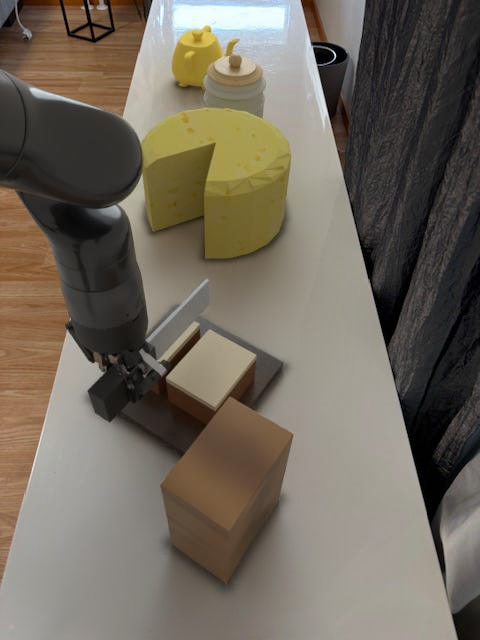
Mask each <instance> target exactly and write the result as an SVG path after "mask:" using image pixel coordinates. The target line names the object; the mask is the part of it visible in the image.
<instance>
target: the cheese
mask: <svg viewBox="0 0 480 640" xmlns="http://www.w3.org/2000/svg"><path fill="white" fill-rule="evenodd" d="M141 145H142V150H143V158H144V162H143V171H142V175H141V177H142V184H143V192H144V199H145V207H146V209H145V210H146V214H147V215H146V216H147V220H148V222H149V226H150V228H151V231H152V232H153V233H154V232H158V231H161V230H164V229H166V228H170V227H173V226H176V225H179V224H181V223H182V224H183V223H185V222H187V221H190V220H193V219H197V218H199V217H202V216H203V217H204V256H205V257H204V258H205V259H232V258H236V257H241V256H244V255H248V254H252V253H254V252H256V251H257V250H260V249H261V248H262V247H264V246H267V245H268V244H269V243H270V242H271V241H272V240H273V239H274V238H275V237H276V235H278V233H279V232H280V230H281V227H282V224H283V221H284V219H285V211H286V203H287V196H288V195H287V194H288V188H289V179H290V172H291V164H292V152H291V145H290V142H289V140H288V139H287V138H286V136H285V135H284V134H283V131H282V130H281V129H279V128H278V127H276V126H275V125H273V124H272V123H271V122H269V120H267V119H265V117H263V118H260V117H257V116H255V115H253V114H250V113H248V112H246V111H238V110H233V109H229V108H225V109H218V108H204V107H201V108H198V109H190V110H183V111H181V112H178V113H176V114H173V115H170V116H167V117H166V118H164V119H163V120H161V121H160V122H159V123H156V125H154V126H152V127H151V128H150V129H149V131H148V132H147V133H146V134H145V136H144V137H143V139H142V140H141Z"/></svg>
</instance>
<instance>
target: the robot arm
mask: <svg viewBox="0 0 480 640" xmlns="http://www.w3.org/2000/svg"><path fill="white" fill-rule="evenodd" d="M141 143H142V141H141V140H140V137H139V136H138V134H137V132H136V130H135V129H134V127H133V126H132V125H131V124H130V123H129V121H127V120H126V119H125V118H124V117H123V116H122V115H121V116H120V115H119V114H117V113H115V112H114V111H113V112H112V111H110V110H107V109H104V108H101V107H98V106H95V105H93V104H89V103H86V102H83V101H80V100H76V99H73V98H70V97H67V96H64V95H61V94H57V93H54V92H50V91H47V90H45V89H42V88H40V87H37V86H35V85H33V84H32V83H29V82H27V81H26V80H23V79H21V78H20V77H17V76H16V75H13V74H11V73H10V72H8V71H6V70H4V69H2V68H0V188H1V189H6V190H7V189H8V190H13V191H14V192H15V194H16V196H17V197H18V199H19V200H20V201H21V203H22V205H23V206H24V207H25V209H26V211H27V212H28V214H29V215H30V217H31V218H32V220H33V221H34V223H35V225H36V226H37V227H38V229H40V230H41V232H42V233H43V234H44V236H45V237H46V240H48V242H49V246H50V248H51V253H52V256H53V259H54V262H55V265H56V269H57V272H58V276H59V282H60V289H61V293H62V297H63V301H64V304H65V306H66V310H67V312H68V316H69V319H70V320H69V321H67V323H66V324H64V327H65V329H66V330H67V332H68V333H69V335H70V336H71V338H72V339H73V340H74V342H75V343H76V345H77V346H78V348H79V349H80V351H81V352H82V353H83V355H84V356H85V358H86V359H87V361H88V362H89V363H91V364H95V363H97V364H98V369H99V370H100V372H101V373H103V374H104V373H105V372H106V371H107V370H108V369H109V368H110V367H111V366H112V365H113V364H114V367H115V370H116V372H117V375H118V376H119V377H121V378H122V379H123V380H124V383H125V387H126V392H127V396H128V400H129V401H130V402H131V403H133V404H134V403H136V401H137V402H139V401H140V399H141V398H142V397H143V396H144V395H145V394H146V393H147V392H148V391H149V390H150V389H151V388H152V387H153V386H154V385H155V384H157V382H158V381H159V380H160V379H161V378H162V377H163V376H164V375H165V374H166V372H167V371H168V370H169V369H170V368H171V365H170V363H169V362H168V361H166V360H162V361H161V362H160V361H159V360H155V359H154V358H153V357H152V356H151V355H150V347H149V345H148V344H147V342H146V340H145V337H146V335H147V332H148V328H149V315H148V309H147V301H146V295H145V289H144V283H143V276H142V272H141V269H140V265H139V263H138V260H137V254H136V247H135V242H134V241H135V240H134V234H133V230H132V226H131V225H132V224H131V220H130V218H129V216H128V214H127V212H126V211H125V210H124V208H123V207H122V206H121V205H119V204H120V203H122V202H123V201H124V200H126V199H127V198H128V197H129V196H130V195H131V194H132V193H133V192H134V191H135V189H136V188H137V186H138V184H139V182H140V180H141V177H142V171H143V162H144V158H143V150H142V145H141Z"/></svg>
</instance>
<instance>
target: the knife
mask: <svg viewBox="0 0 480 640" xmlns="http://www.w3.org/2000/svg"><path fill="white" fill-rule="evenodd" d="M210 295H211V294H210V280H209V279H208V278H205V279H204V280H203V281H202V282H201V283H200V284H199V285H198V287H196V289H194V291H192V293H191V294H190V295H189V296H188V297H187V298H186V299H184V301H183V302H182V303H181V304H180V305H179V307H178V308H177V309H176V310H175V311H174V312H173V313H172V315H171V316H170V317H169V318H168V319H167V320H166V321H165V322H164V323H163V324H162V325H161V326H160V327H159V328H158V329H157V330H156V331H155V332H154V333H153V334H152V335H151V336H150V337H149V338H148V339H147V340H146V342H147V344H148V345H149V347H150V355H151V356H152V357H153V358H154V359H155V360H159V359H160V358H161V357H162V356H163V355H164V354H165V352H166V351H167V350H168V349H169V348H170V347H171V346H172V345H173V344H174V343H175V342H176V341H177V339H178V338H179V337H180V336H181V335H182V334H183V333H184V332H185V331H186V330H187V329H188V328H189V326H190V325H191V324H192V323H193V322H194V321H195V320H196V319H197V318H198V317H201V315H202V314H203V313H204V312H205V310H207V308H208V307H209V306H210V298H211V297H210ZM87 393H88V396H89V400H90V403H91V405H92V408H93V412H94V413H95V414H96V415H98V416H99V417H100V418H102V419H104V420H105V421H106V422H108V423H112V422H113V420H114V419H115V418H116V417H117V416H118V415H119V413H120V411H121V410H122V409H123V408H124V407H125V406H126V405H127V404H128V403H129V402H130V401H129V400H128V396H127V392H126V387H125V383H124V380H123V379H122V378H121V377H119V376H118V375H117V372H116V370H115V367H114V364H113V365H112V366H111V367H110V368H109V369H108V370H107V371H106V372H105V373H103V374H102V375H101V376H100V377H99V378H98V379H97V380H96V381H95V382H94V383H93V384H92V385H91V386H90V387H89V388H88V390H87Z"/></svg>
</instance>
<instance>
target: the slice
mask: <svg viewBox="0 0 480 640" xmlns="http://www.w3.org/2000/svg"><path fill="white" fill-rule="evenodd" d="M171 315H172V314H171ZM171 315H170V316H171ZM170 316H169V317H170ZM169 317H168V318H169ZM168 318H167V319H168ZM167 319H166V320H167ZM166 320H165V321H166ZM165 321H164V322H165ZM164 322H163V323H164ZM163 323H162V324H163ZM162 324H161V325H162ZM161 325H160V326H161ZM160 326H159V327H160ZM159 327H158V328H159ZM158 328H157V329H158ZM157 329H156V330H157ZM156 330H155V331H156ZM155 331H154V332H155ZM154 332H153V333H154ZM153 333H152V334H153ZM152 334H151V335H152ZM199 340H200V324H199V323H197V322H195V321H194V322H193V323H192V324H191V325H190V326H189V328H188V329H187V330H186V331H185V332H184V333H183V334H182V335H181V336H180V337H179V338H178V339H177V341H176V342H175V343H174V344H173V345H172V346H171V347H170V348H169V349H168V350H167V351H166V352H165V354H164V355H163V356H162V357H161V358H160V359H159V361H160V362H161V361H162V360H166V361H168V362H169V363H170V365H171V368H170V369H169V370H168V371H167V372H166V374H165V375H164V376H163V377H162V378H161V379H160V380H159V381H158V382H157V384H155V385H154V386H153V387H152V388H151V389H150V390H152V391H153V392H155V393H157V394H158V395H160V394H161V393H162V392H163V391H164V390H165V389H166V388H167V383H166V377H167V376H168V375H169V374H170V372H171V371H172V370H173V369H174V368H175V367H176V366H177V365H178V364H179V362H180V361H181V360H182V359H183V358H184V357H185V356H186V355H187V353H188V352H189V351H190V350H191V349H192V348H193V347H194V346H195V345H196V343H197V342H198V341H199Z"/></svg>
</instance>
